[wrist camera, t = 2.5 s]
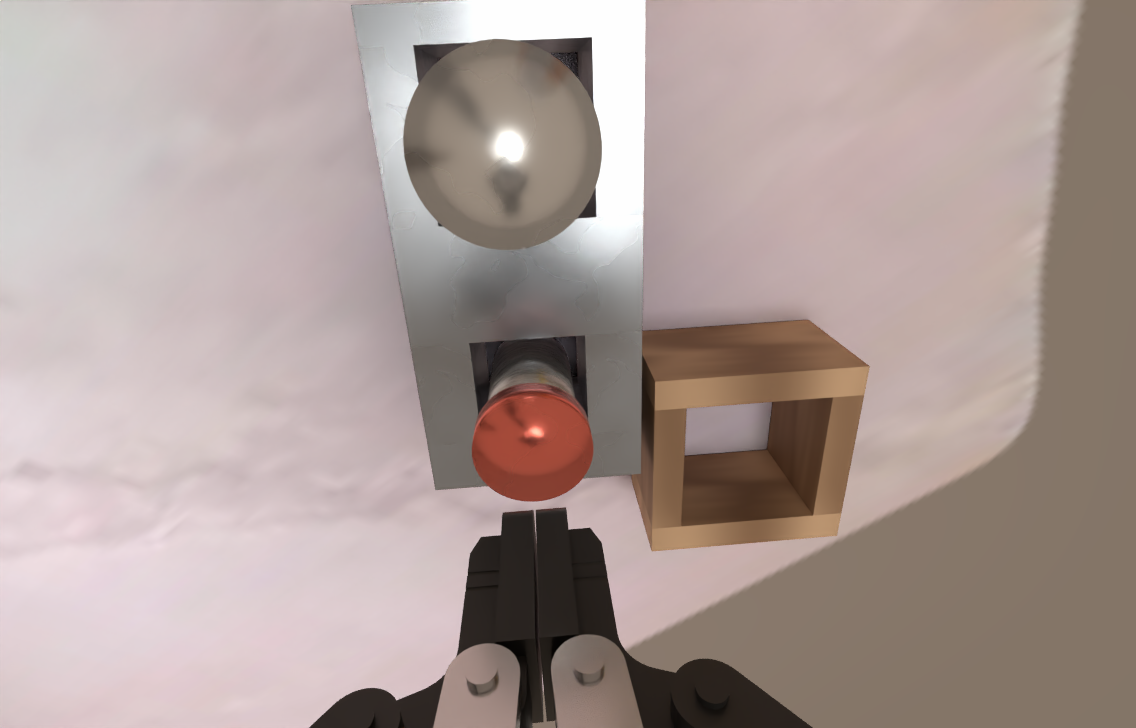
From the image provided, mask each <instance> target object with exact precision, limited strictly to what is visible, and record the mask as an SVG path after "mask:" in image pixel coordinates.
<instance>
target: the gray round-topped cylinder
mask: <svg viewBox="0 0 1136 728" xmlns="http://www.w3.org/2000/svg"><path fill="white" fill-rule="evenodd" d="M403 148H404V158H405V162H406V167H407V171H408V174H409V177H410V180H411V183H412V185H413V187H414V189H415V191H416V193H417V195H418V197H419V199H420V200H421V202H422V203H423V205H424V206H425V208H426V209H427V210H428V211H429V213H430V214H431V215H432V216H433V217H434V218H435V219H436V220H437V221H438V222H439V223H440V224H441V225H442V226H443V227H445V228H446V229H447V230H449V231H450V232H451V233H453V234H454V235H456V236H458V237H460V238H461V239H463V240H465V241H467V242H470V243H472V244H475V245H478V246H481V247H485V248H489V249H497V250H517V249H525V248H529V247H532V246H536V245H539V244H541V243H544V242H546V241H548V240H550V239H552V238H553V237H555V236H557V235H559V234H560V233H561V232H562V231H564V230H565V229H566V228H568V227H569V226H570V225H571V224H572V223H573V222H574V221H575V220H576V219H577V218H578V216H579V215H580V214H581V212H582V211H583V210H584V209H585V207H586V205H587V204H588V202H589V200H590V198H591V196H592V194H593V192H594V189H595V187H596V184H597V181H598V178H599V174H600V169H601V163H602V135H601V129H600V124H599V119H598V116H597V113H596V110H595V107H594V105H593V103H592V101H591V99H590V97H589V95H588V93H587V91H586V90H585V88H584V86H583V85H582V83H581V82H580V80H579V79H578V78H577V77H576V76H575V75H574V73H573V72H572V71H571V70H570V69H569V68H568V67H567V66H566V65H564V64H563V63H562V62H561V61H560V60H559V59H557V58H556V57H554V56H553V55H551V54H550V53H548V52H546V51H544V50H542V49H540V48H538V47H536V46H534V45H531V44H528V43H525V42H521V41H516V40H510V39H488V40H480V41H477V42H473V43H469V44H466V45H464V46H462V47H460V48H457V49H455V50H453V51H452V52H450V53H449V54H447V55H446V56H444V57H443V58H441V59H440V60H439V61H438V62H437V63H436V64H435V65H433V66H432V67H431V69H430V70H429V71H428V72H427V73H426V74H425V76H424V77H423V78H422V80H421V81H420V83H419V85H418V86H417V88H416V89H415V92H414V94H413V96H412V98H411V101H410V103H409V106H408V110H407V113H406V117H405V124H404V131H403Z"/></svg>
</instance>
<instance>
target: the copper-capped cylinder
mask: <svg viewBox="0 0 1136 728" xmlns="http://www.w3.org/2000/svg"><path fill="white" fill-rule="evenodd" d="M592 458H593V440H592V435H591V430H590V425H589V421H588V417H587V415H586V413H585V411H584V409H583V407H582V406H581V405H580V403H579V402H578V401H577V400H576V399H575V394H574V388H573V383H572V377H571V371H570V365H569V360H568V356H567V354H566V351H565V350H564V348H563V347H562V345H561V344H560V343H559V342H558V341H557V340H555V339H554V338H537V339H523V340H508V341H504V342H503V343H502V344H501V345H500V347H499V348H498V349H497V351H496V353H495V356H494V359H493V365H492V373H491V381H490V389H489V397H488V402H487V403H486V404H485V405H484V406H483V408H482V409H481V411H480V413H479V415H478V417H477V420H476V424H475V429H474V436H473V442H472V459H473V464H474V466H475V469H476V471H477V473H478V474H479V476H480V477H481V479H482V480H483V481H484V482H485V483H486V484H487V485H488V486H489V487H490V488H491V489H493V490H494V491H496V492H497V493H499V494H501V495H503V496H506V497H508V498H511V499H515V500H520V501H543V500H548V499H552V498H555V497H557V496H560V495H562V494H564V493H566V492H568V491H569V490H571V489H572V488H573V487H575V486H576V485H577V484H578V483H579V482H580V481H581V480H582V479H583V477H584V476H585V474H586V473H587V471H588V469H589V467H590V465H591V462H592Z"/></svg>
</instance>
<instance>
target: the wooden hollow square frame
mask: <svg viewBox="0 0 1136 728" xmlns="http://www.w3.org/2000/svg"><path fill="white" fill-rule="evenodd" d="M869 367H870V366H869V365H867V364H866V363H865V362H863V361H862V360H861V359H859V358H858V357H857V356H855V355H854V354H853V353H851V352H850V351H849V350H848V349H846V348H845V347H844V346H842V345H841V344H840V343H838V342H837V341H836V340H834V339H833V338H832V337H830V336H829V335H828V334H826V333H825V332H824V331H823V330H821V329H820V328H819V327H817V326H816V325H815V324H813V323H812V322H811V321H809V320H799V321H784V322H769V323H755V324H740V325H725V326H710V327H696V328H681V329H666V330H652V331H642V405H641V474H633V475H632V483H633V487H634V490H635V494H636V497H637V501H638V504H639V508H640V511H641V515H642V519H643V522H644V526H645V529H646V533H647V536H648V540H649V543H650V547H651V550H652V551H662V550H673V549H685V548H697V547H709V546H720V545H732V544H744V543H756V542H767V541H779V540H791V539H803V538H814V537H826V536H837V532H838V527H839V522H840V517H841V512H842V506H843V501H844V496H845V491H846V486H847V481H848V475H849V470H850V465H851V460H852V455H853V450H854V445H855V439H856V434H857V429H858V424H859V419H860V414H861V408H862V403H863V398H864V393H865V388H866V383H867V377H868V372H869ZM763 402H773V404H772V412H771V421H770V429H769V438H768V446H767V450H758V451H745V452H732V453H719V454H706V455H693V456H684V452H685V431H686V410H687V408H696V407H710V406H723V405H736V404H750V403H763Z"/></svg>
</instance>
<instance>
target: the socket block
mask: <svg viewBox="0 0 1136 728" xmlns="http://www.w3.org/2000/svg"><path fill="white" fill-rule="evenodd" d="M351 9H352V14H353V20H354V26H355V32H356V37H357V43H358V49H359V55H360V60H361V66H362V72H363V77H364V83H365V89H366V95H367V100H368V106H369V112H370V118H371V123H372V129H373V135H374V140H375V146H376V152H377V158H378V163H379V169H380V175H381V181H382V186H383V192H384V198H385V203H386V209H387V215H388V221H389V226H390V232H391V238H392V244H393V249H394V255H395V261H396V266H397V272H398V278H399V284H400V289H401V295H402V301H403V307H404V312H405V318H406V324H407V329H408V335H409V341H410V347H411V352H412V358H413V364H414V370H415V375H416V381H417V387H418V392H419V398H420V404H421V410H422V415H423V421H424V427H425V433H426V438H427V444H428V450H429V455H430V461H431V467H432V473H433V478H434V484H435V490H443V489H455V488H468V487H481V486H488V485H487V484H486V483H485V482H484V481H483V480H482V479H481V477H480V476H479V474H478V473H477V471H476V469H475V466H474V464H473V459H472V442H473V436H474V429H475V424H476V420H477V417H478V415H479V413H480V411H481V409H482V408H483V406H484V405H485V404H486V403H487V402H488V397H489V389H490V383H489V374H488V366H487V357H486V348H485V342H493V341H508V340H523V339H537V338H552V337H567V336H576V355H577V376H576V377H572V383H573V388H574V394H575V399H576V400H577V401H578V402H579V403H580V405H581V406H582V407H583V409H584V411H585V413H586V415H587V417H588V421H589V425H590V430H591V435H592V440H593V458H592V462H591V465H590V467H589V469H588V471H587V473H586V474H585V476H584V477H583V478H595V477H607V476H620V475H633V474H641V405H642V302H643V199H644V96H645V0H460V1H436V2H412V3H388V4H364V5H351ZM488 39H510V40H516V41H521V42H525V43H528V44H531V45H534V46H536V47H538V48H540V49H542V50H544V51H546V52H548V53H562V52H577V55H578V79H579V80H580V82H581V83H582V85H583V86H584V88H585V90H586V91H587V93H588V95H589V97H590V99H591V101H592V103H593V105H594V107H595V110H596V113H597V116H598V119H599V124H600V129H601V135H602V163H601V169H600V174H599V178H598V181H597V184H596V187H595V189H594V192H593V194H592V196H591V198H590V200H589V202H588V204H587V205H586V207H585V209H584V210H583V211H582V212H581V214H580V215H579V216H578V218H577V219H576V220H575V221H574V222H573V223H572V224H571V225H570V226H569V227H568V228H566V229H565V230H564V231H562V232H561V233H560V234H559V235H557V236H555V237H553V238H552V239H550V240H548V241H546V242H544V243H541V244H539V245H536V246H532V247H529V248H525V249H517V250H497V249H489V248H485V247H481V246H478V245H475V244H472V243H470V242H467V241H465V240H463V239H461V238H460V237H458V236H456V235H454V234H453V233H451V232H450V231H449V230H447V229H446V228H445V227H443V226H442V225H441V224H440V223H439V222H438V221H437V220H436V219H435V218H434V217H433V216H432V215H431V214H430V213H429V211H428V210H427V209H426V208H425V206H424V205H423V203H422V202H421V200H420V199H419V197H418V195H417V193H416V191H415V189H414V187H413V185H412V183H411V180H410V177H409V174H408V171H407V167H406V162H405V158H404V148H403V131H404V124H405V117H406V113H407V110H408V106H409V103H410V101H411V98H412V96H413V94H414V92H415V89H416V88H417V86H418V85H419V83H420V81H421V80H422V78H423V77H424V76H425V74H426V73H427V72H428V71H429V70H430V69H431V67H432V66H433V65H435V64H436V63H437V62H438V58H443V57H444V56H446V55H447V54H449V53H450V52H452V51H453V50H455V49H457V48H460V47H462V46H464V45H466V44H469V43H473V42H477V41H480V40H488Z"/></svg>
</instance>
